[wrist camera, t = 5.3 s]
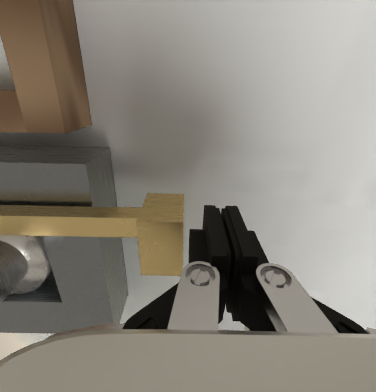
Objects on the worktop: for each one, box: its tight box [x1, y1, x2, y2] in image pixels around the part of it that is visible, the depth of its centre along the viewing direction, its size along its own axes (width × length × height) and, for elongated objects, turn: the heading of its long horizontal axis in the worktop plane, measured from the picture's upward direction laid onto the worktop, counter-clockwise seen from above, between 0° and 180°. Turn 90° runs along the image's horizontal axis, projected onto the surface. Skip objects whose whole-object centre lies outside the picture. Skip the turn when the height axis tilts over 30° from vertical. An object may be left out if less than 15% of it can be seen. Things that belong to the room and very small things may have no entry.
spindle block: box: [0, 146, 128, 333], centre depth 17 cm, size 14×14×4 cm
